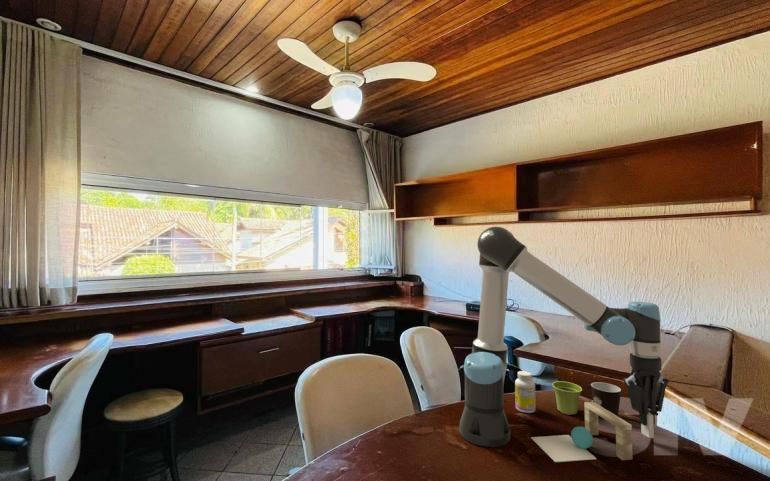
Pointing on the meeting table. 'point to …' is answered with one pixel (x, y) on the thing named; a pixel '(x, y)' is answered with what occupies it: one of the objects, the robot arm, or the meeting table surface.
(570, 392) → the plant pot
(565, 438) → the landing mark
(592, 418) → the bridge
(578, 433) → the ball
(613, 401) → the coffee mug
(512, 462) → the meeting table surface
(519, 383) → the supplement bottle
